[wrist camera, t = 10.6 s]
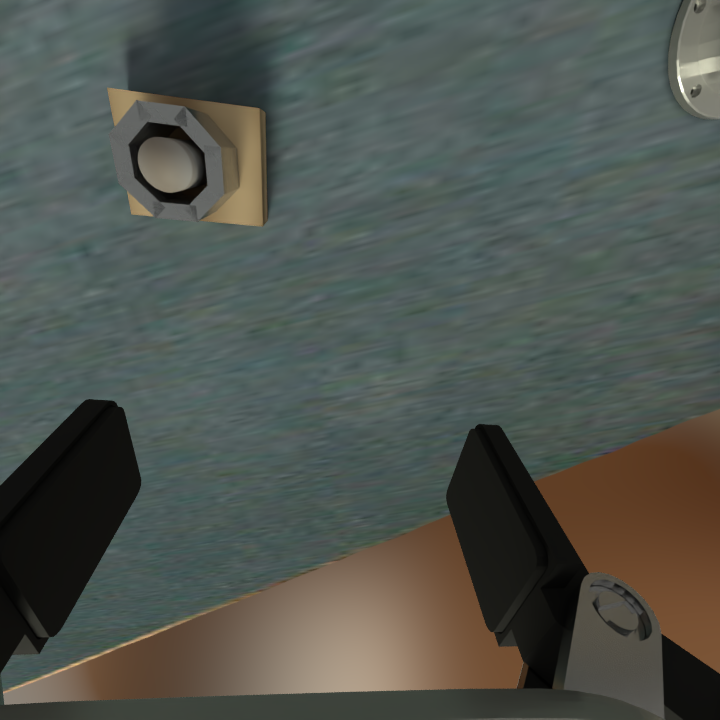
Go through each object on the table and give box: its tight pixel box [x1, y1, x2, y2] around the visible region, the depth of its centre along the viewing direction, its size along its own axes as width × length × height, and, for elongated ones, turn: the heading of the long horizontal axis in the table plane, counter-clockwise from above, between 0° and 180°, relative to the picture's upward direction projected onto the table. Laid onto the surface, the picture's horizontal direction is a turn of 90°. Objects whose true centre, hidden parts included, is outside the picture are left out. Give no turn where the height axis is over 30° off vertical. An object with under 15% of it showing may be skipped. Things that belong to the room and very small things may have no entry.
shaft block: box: [107, 88, 268, 226], centre depth 26 cm, size 10×8×8 cm
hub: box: [109, 100, 239, 222], centre depth 25 cm, size 6×6×5 cm
